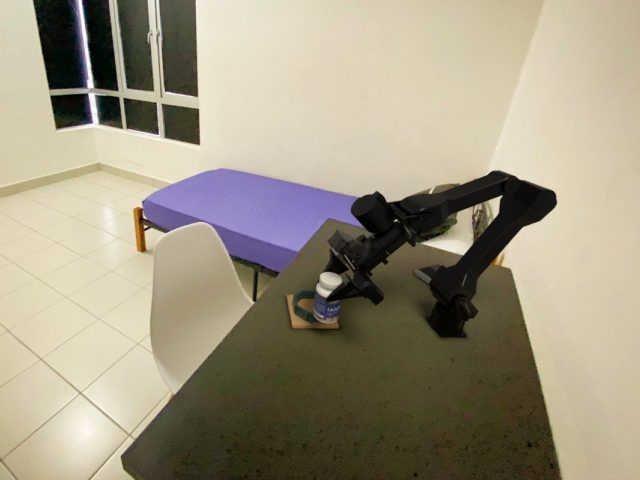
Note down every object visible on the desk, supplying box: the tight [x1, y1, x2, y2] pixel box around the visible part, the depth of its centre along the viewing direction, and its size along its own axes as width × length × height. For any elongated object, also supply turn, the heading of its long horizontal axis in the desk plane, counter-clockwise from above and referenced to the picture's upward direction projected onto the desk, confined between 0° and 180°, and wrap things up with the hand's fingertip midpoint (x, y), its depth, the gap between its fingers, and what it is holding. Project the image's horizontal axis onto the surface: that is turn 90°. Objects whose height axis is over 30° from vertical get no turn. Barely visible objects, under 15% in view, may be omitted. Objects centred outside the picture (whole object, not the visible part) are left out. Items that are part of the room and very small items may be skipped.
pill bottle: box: [313, 272, 343, 324], centre depth 72 cm, size 6×6×10 cm
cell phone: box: [414, 264, 443, 285], centre depth 100 cm, size 6×11×1 cm, turn 113°
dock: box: [285, 288, 340, 329], centre depth 83 cm, size 11×11×4 cm
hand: (322, 291), depth 72 cm, fingers closed on pill bottle, 6 cm apart
